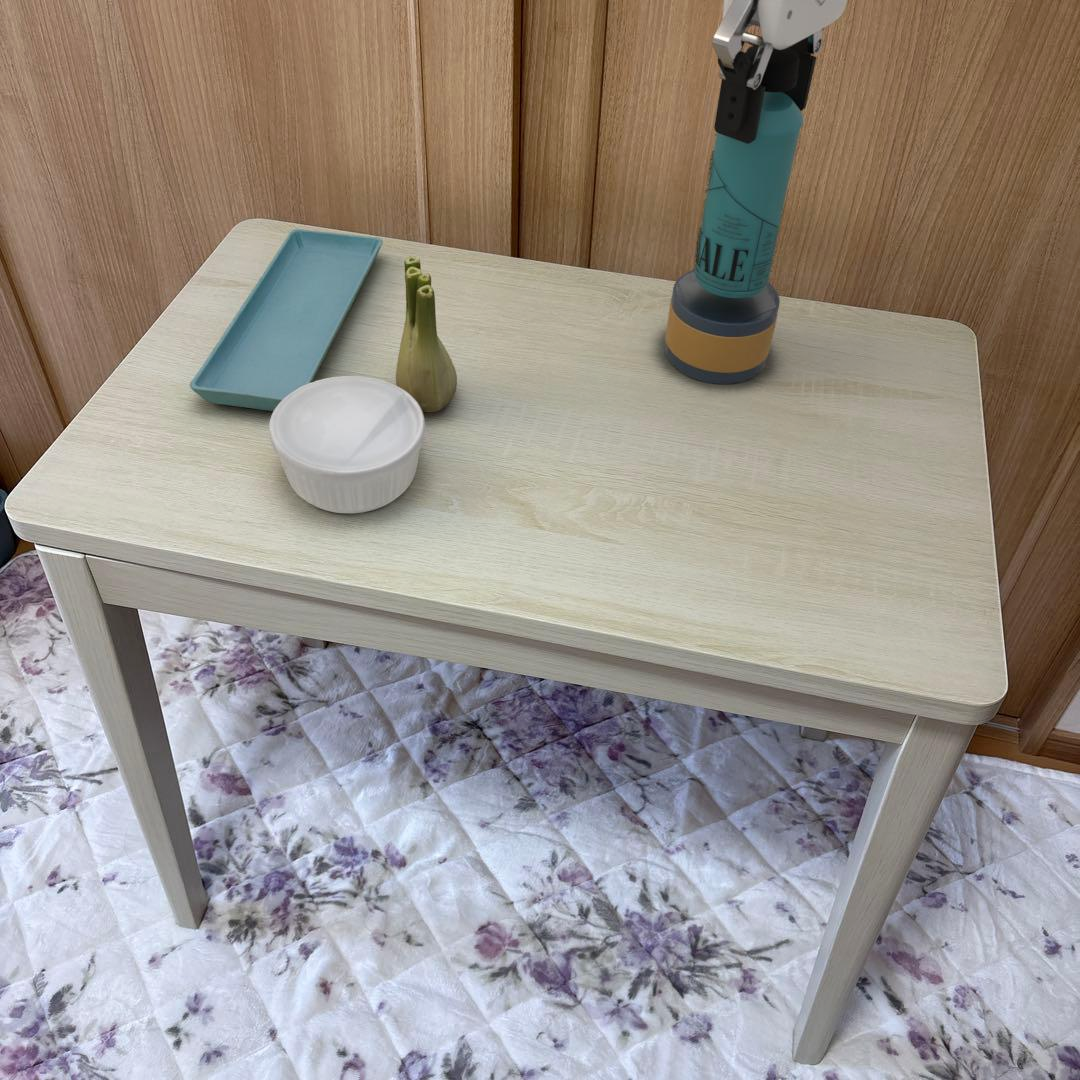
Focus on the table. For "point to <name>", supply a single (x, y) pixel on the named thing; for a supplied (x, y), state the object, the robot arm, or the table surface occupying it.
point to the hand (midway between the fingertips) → (760, 118)
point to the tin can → (719, 332)
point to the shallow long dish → (287, 320)
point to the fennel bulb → (423, 345)
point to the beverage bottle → (750, 190)
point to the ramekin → (348, 442)
